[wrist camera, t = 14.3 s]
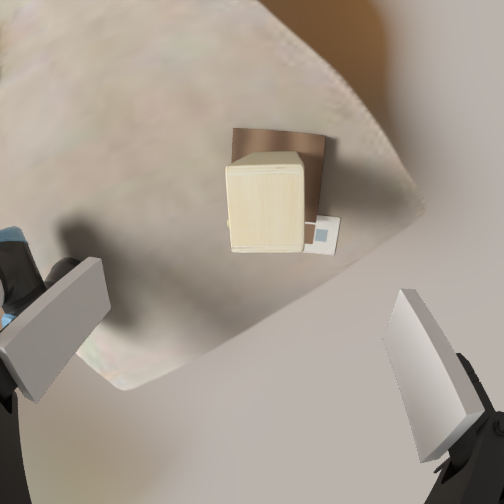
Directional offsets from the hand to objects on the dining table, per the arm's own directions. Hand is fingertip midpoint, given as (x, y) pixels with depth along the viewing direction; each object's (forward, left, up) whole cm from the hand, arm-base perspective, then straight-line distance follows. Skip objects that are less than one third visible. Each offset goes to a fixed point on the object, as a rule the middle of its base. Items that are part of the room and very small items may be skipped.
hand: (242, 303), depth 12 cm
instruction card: (+7, -10, -38) cm, 39 cm away
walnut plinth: (0, 0, -38) cm, 38 cm away
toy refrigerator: (0, 0, -35) cm, 35 cm away
